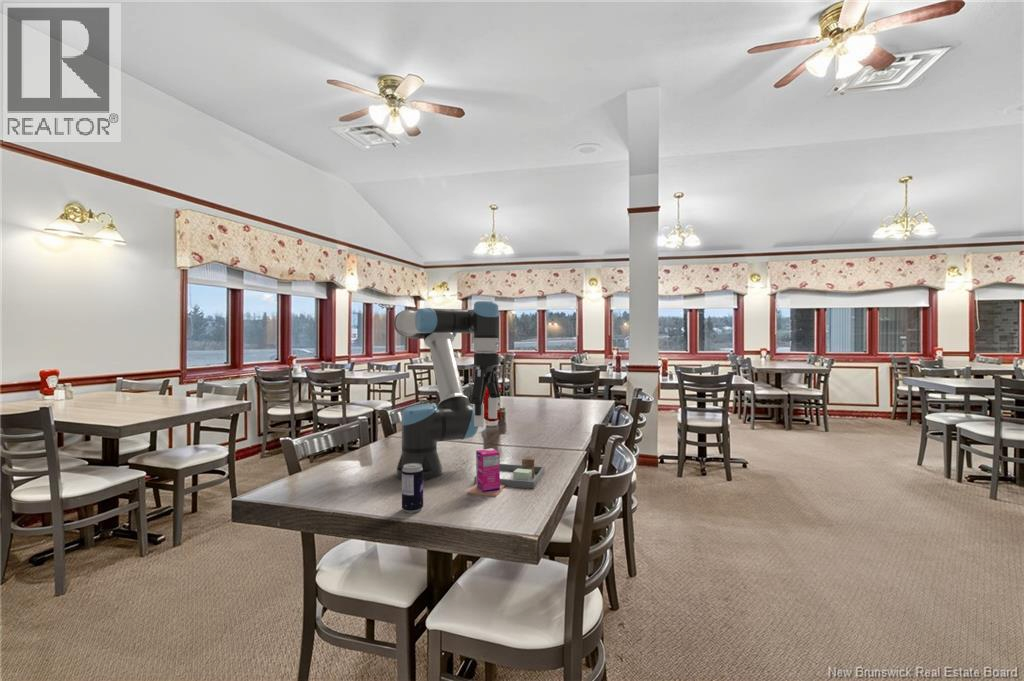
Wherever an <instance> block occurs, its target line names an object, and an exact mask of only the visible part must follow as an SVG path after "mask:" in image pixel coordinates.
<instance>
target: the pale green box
mask: <svg viewBox="0 0 1024 681" xmlns="http://www.w3.org/2000/svg"><path fill="white" fill-rule="evenodd" d="M512 472H513V474H512V475H513V478H512V480H524V481H533V478H532V470H529V469H519V468H517V469H516V470H515V471H512Z"/></svg>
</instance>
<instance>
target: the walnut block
mask: <svg viewBox="0 0 1024 681" xmlns="http://www.w3.org/2000/svg"><path fill="white" fill-rule="evenodd" d="M521 465H522V469H529V470H532V479H534V478H535V473H534V466H535V456H530V455H528V456H525V455H524V456H523V455H522V458H521Z"/></svg>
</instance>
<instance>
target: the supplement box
mask: <svg viewBox="0 0 1024 681" xmlns="http://www.w3.org/2000/svg"><path fill="white" fill-rule="evenodd" d="M475 456H476V457H475V461H476V462H475V463H476V464H475V468H476V470H475V471H476V472H475V473H476V475H475V476H476V484H477V487H478V488H479V489H480V490H481V491H482V492H489V491H496V490H500V479H501V477H500V475H501V474H500V473H501V472H500V471H501V470H500V464H501V463H500V462H501V461H500V452H499V451H497V450H496V449H495V448H492V447H491V448H485V449H483V448H482V449H476V450H475Z"/></svg>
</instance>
